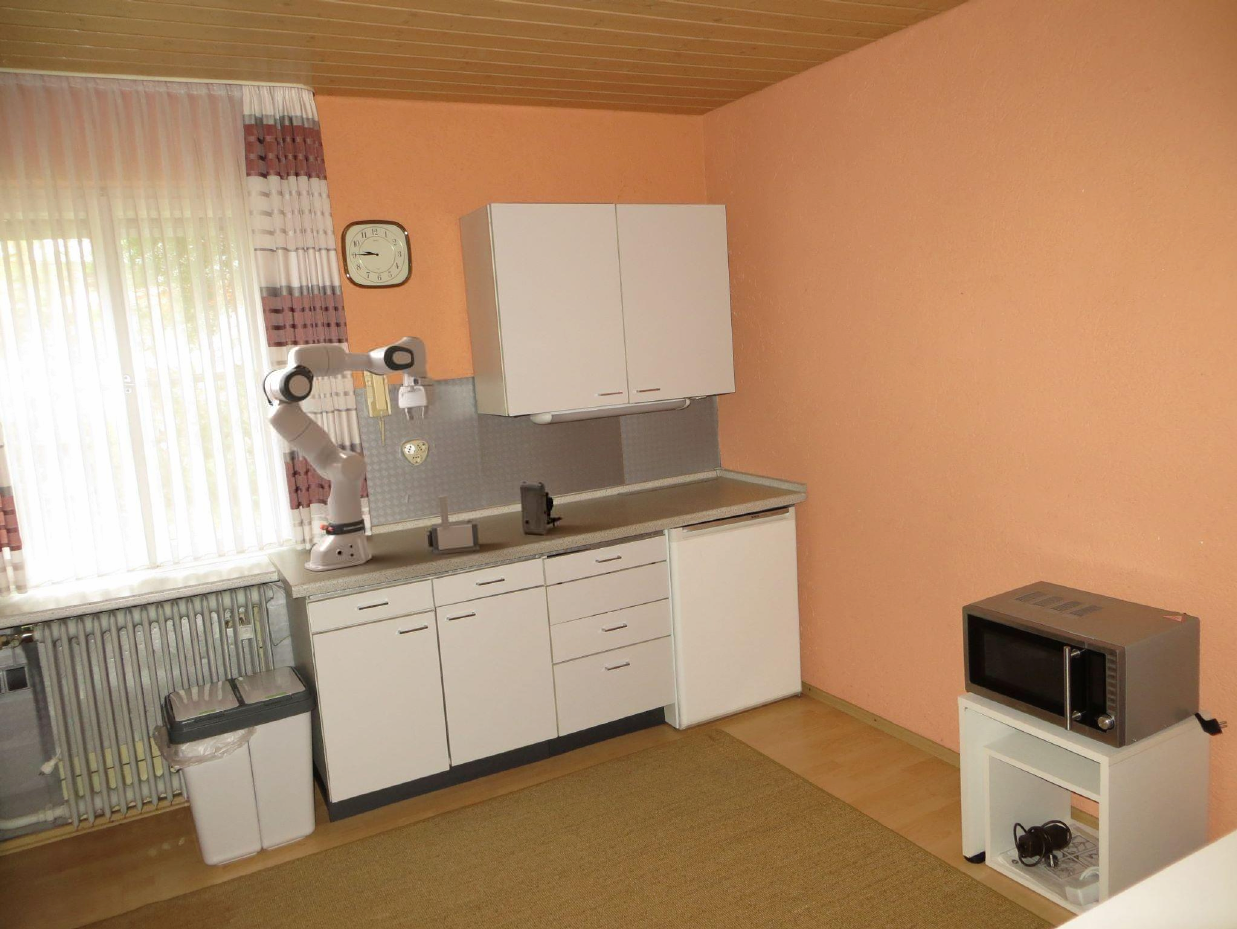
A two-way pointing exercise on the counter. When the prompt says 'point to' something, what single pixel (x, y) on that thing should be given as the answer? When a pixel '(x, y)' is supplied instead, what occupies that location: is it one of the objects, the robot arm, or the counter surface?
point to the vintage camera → (536, 508)
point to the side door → (452, 530)
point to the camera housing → (434, 543)
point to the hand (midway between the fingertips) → (417, 419)
